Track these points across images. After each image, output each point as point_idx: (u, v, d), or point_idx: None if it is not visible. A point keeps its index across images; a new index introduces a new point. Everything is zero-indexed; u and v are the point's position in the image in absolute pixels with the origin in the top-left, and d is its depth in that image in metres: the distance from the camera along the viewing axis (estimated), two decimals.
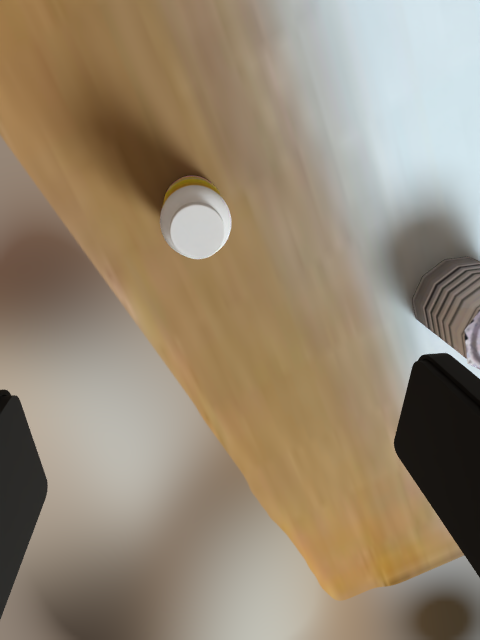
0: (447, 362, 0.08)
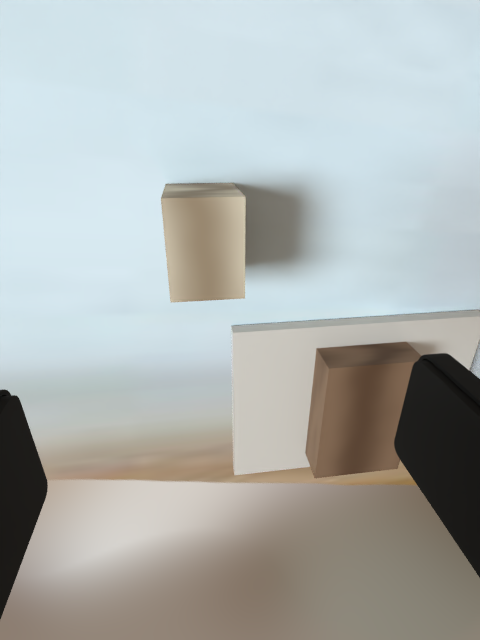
0: (447, 362, 0.08)
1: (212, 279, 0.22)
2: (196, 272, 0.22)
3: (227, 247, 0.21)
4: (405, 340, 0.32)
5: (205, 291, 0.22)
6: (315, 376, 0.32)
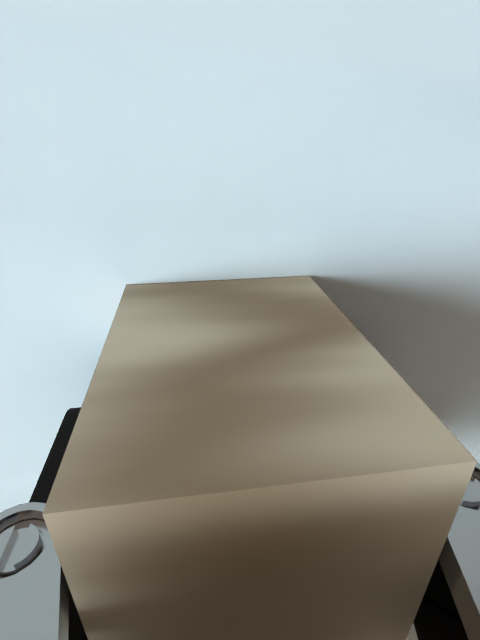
0: None
1: None
2: None
3: (353, 613, 0.05)
4: None
5: None
6: None
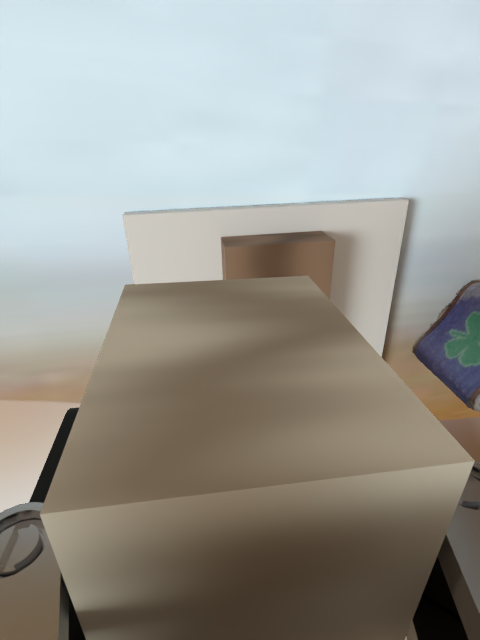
0: None
1: None
2: None
3: (352, 613, 0.05)
4: (320, 229, 0.29)
5: None
6: (222, 270, 0.29)
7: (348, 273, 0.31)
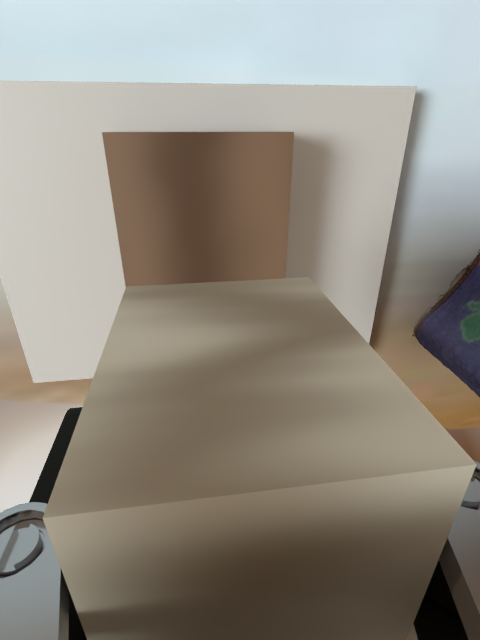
0: None
1: None
2: None
3: (353, 615, 0.05)
4: (276, 128, 0.19)
5: None
6: None
7: (321, 207, 0.21)
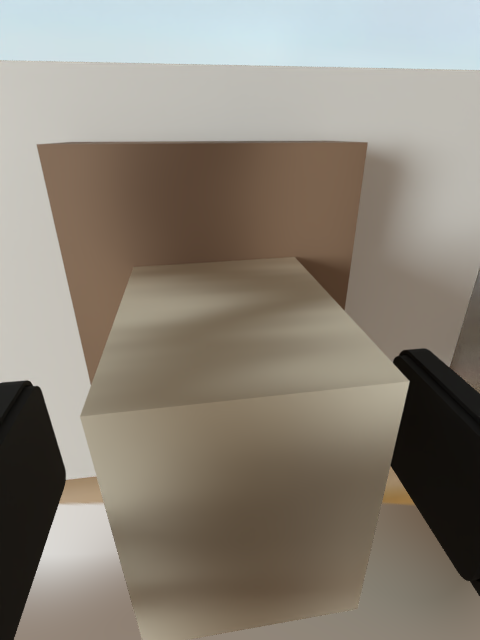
0: (426, 356, 0.09)
1: (269, 589, 0.07)
2: (220, 583, 0.07)
3: (325, 518, 0.06)
4: (324, 136, 0.12)
5: (247, 613, 0.07)
6: None
7: (383, 249, 0.14)
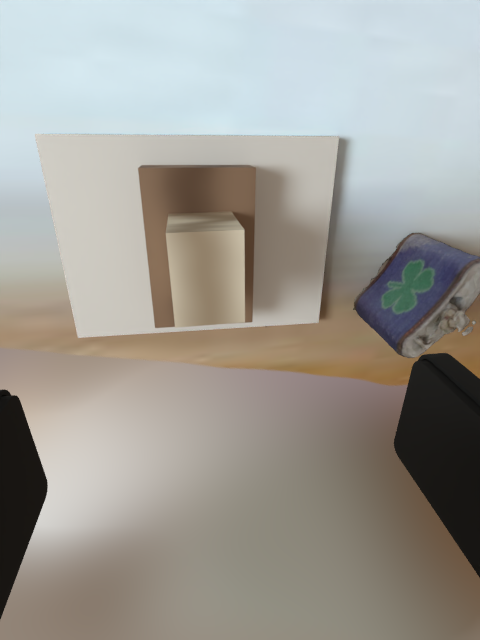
0: (447, 362, 0.08)
1: (214, 305, 0.23)
2: (199, 299, 0.23)
3: (228, 276, 0.23)
4: (247, 163, 0.28)
5: (207, 316, 0.24)
6: None
7: (279, 214, 0.30)
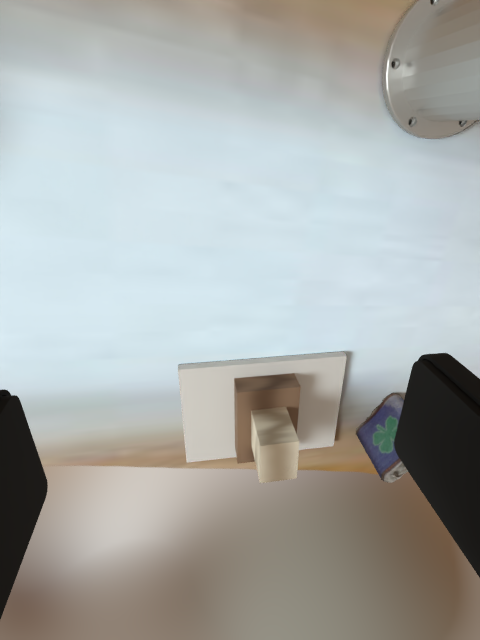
0: (447, 362, 0.08)
1: (281, 472, 0.44)
2: (273, 470, 0.43)
3: (289, 460, 0.43)
4: (293, 372, 0.49)
5: (277, 477, 0.44)
6: (234, 396, 0.49)
7: (311, 394, 0.51)
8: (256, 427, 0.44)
